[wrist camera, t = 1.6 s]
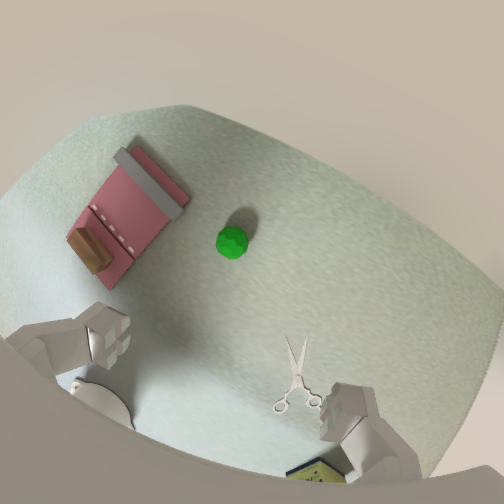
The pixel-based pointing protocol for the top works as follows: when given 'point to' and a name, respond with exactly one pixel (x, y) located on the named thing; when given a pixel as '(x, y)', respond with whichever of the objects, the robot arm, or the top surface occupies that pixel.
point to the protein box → (317, 472)
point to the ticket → (138, 200)
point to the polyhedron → (232, 242)
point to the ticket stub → (99, 248)
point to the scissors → (297, 380)
